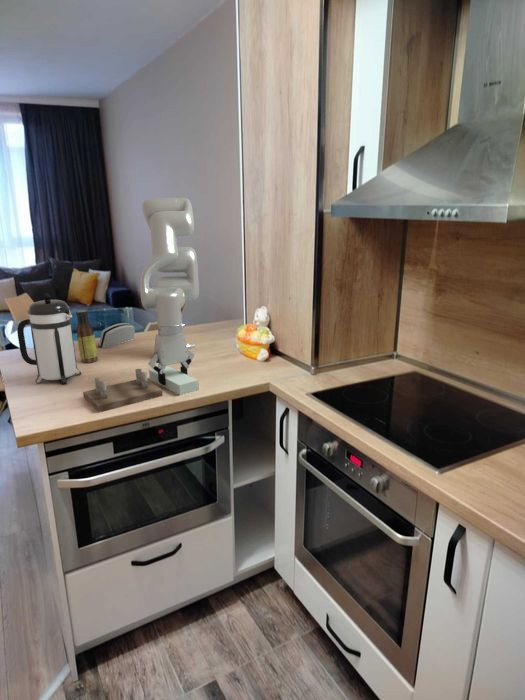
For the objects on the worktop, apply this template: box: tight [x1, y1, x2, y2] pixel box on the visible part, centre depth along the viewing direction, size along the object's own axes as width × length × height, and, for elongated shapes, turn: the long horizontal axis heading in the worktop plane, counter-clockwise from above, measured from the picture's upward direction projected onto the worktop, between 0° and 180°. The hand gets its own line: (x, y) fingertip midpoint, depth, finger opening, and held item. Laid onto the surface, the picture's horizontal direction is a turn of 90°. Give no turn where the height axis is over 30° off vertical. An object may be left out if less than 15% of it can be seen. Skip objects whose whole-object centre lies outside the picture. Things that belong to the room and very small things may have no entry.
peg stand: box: [82, 368, 163, 413], centre depth 145 cm, size 20×14×7 cm
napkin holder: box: [96, 322, 136, 349], centre depth 203 cm, size 17×5×10 cm, turn 146°
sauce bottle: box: [75, 309, 99, 364], centre depth 178 cm, size 7×6×20 cm
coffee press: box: [16, 292, 82, 386], centre depth 157 cm, size 17×16×30 cm
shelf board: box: [148, 365, 200, 396], centre depth 155 cm, size 20×7×4 cm, turn 41°
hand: (173, 381), depth 155 cm, fingers closed on shelf board, 7 cm apart
